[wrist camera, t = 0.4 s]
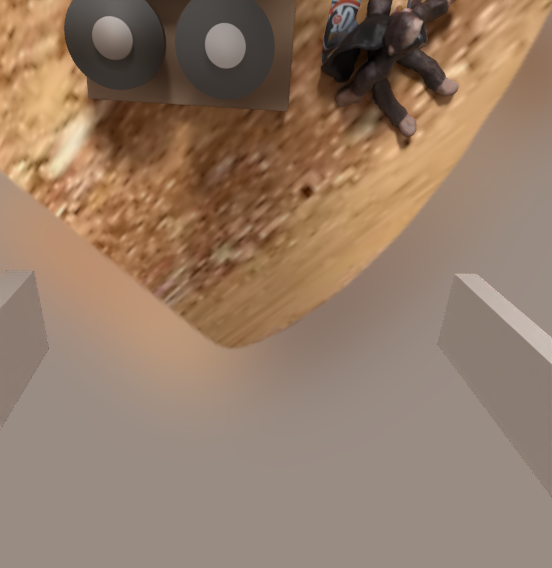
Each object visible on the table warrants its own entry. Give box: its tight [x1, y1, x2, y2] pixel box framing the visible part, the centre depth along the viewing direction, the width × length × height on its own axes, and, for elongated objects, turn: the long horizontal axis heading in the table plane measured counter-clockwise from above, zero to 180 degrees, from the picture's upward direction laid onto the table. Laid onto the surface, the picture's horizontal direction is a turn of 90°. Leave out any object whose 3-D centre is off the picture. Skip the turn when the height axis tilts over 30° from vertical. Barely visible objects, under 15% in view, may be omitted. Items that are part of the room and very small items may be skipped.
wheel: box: [175, 0, 275, 100], centre depth 29 cm, size 6×6×3 cm
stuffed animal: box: [321, 0, 458, 137], centre depth 35 cm, size 12×10×12 cm
